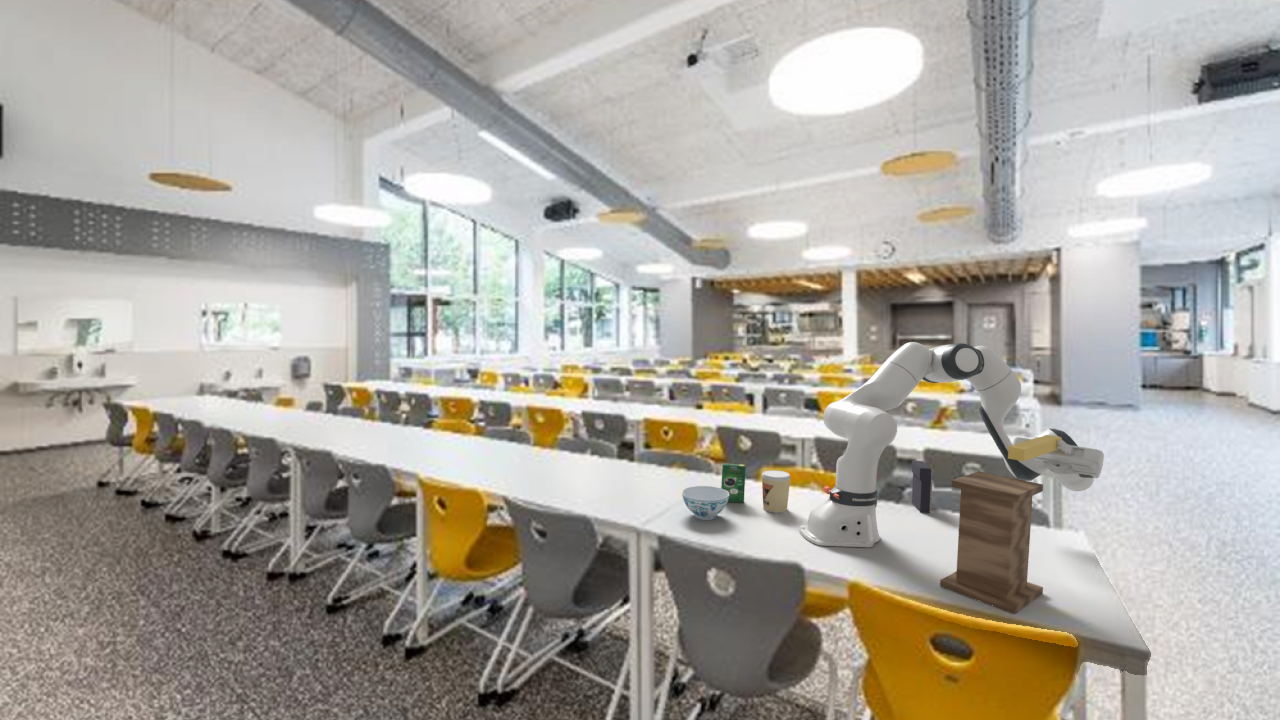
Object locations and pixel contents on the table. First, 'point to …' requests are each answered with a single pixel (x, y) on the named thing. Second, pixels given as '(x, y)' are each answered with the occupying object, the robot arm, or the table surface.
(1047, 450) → the mustard bar
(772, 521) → the table surface
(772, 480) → the coffee cup
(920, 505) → the dark grey upright block
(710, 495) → the chinaware
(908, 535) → the table surface
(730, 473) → the coffee box
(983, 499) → the walnut stand
